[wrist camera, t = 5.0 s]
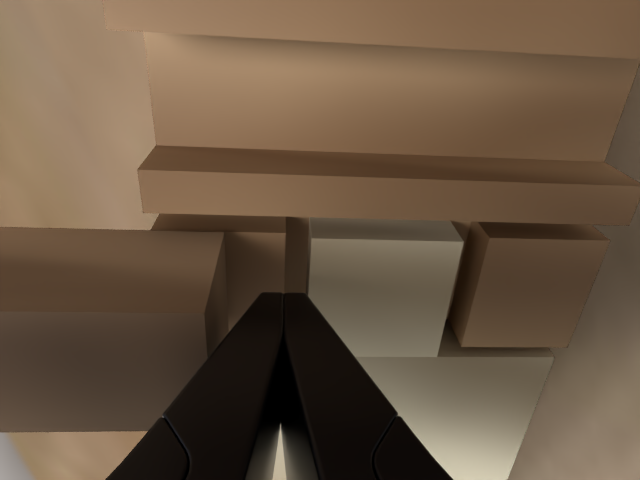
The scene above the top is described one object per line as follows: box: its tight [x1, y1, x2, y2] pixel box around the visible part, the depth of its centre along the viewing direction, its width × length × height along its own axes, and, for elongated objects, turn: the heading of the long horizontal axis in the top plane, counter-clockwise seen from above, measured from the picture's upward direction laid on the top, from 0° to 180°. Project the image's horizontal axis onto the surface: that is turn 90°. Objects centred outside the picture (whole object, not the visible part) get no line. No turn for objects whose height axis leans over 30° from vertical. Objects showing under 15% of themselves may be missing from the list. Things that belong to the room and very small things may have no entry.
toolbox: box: [102, 0, 640, 348], centre depth 15 cm, size 22×9×7 cm, turn 176°
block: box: [0, 227, 229, 432], centre depth 8 cm, size 2×5×2 cm, turn 86°
